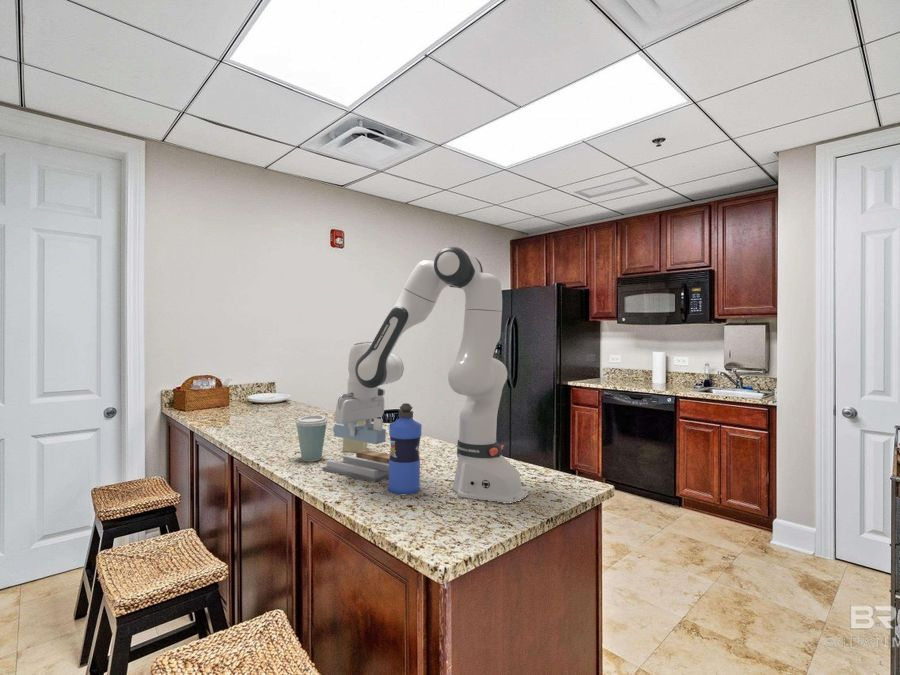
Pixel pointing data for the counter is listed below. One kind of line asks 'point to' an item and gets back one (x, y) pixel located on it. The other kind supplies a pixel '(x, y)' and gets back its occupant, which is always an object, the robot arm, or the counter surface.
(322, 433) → the disposable coffee cup
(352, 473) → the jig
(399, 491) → the water bottle
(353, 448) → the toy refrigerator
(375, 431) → the pale blue tabbed body
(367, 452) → the brown long rectangular bar
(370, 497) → the counter surface
